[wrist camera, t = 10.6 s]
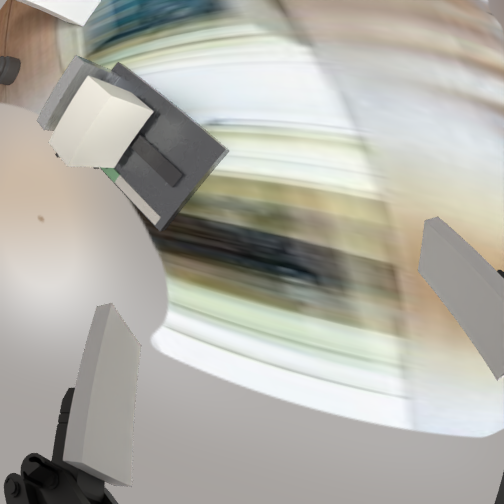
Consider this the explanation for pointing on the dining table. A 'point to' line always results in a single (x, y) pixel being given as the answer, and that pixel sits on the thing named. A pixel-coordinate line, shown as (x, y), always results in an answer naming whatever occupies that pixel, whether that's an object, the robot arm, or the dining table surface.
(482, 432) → the dining table surface
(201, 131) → the frame
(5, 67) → the candle holder
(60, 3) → the milk
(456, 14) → the dining table surface
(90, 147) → the block
